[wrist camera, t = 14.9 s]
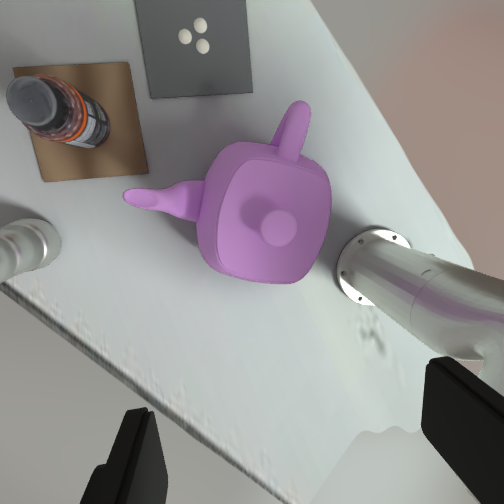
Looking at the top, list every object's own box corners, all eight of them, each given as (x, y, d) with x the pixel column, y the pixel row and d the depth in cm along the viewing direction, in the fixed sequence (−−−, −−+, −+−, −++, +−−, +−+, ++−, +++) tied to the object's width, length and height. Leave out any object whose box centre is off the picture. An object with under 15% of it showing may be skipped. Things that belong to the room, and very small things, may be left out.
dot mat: (243, -28, 34) (243, -30, 33) (252, 92, 37) (252, 91, 37) (131, -26, 32) (130, -28, 32) (151, 98, 36) (151, 97, 35)
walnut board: (129, 63, 34) (127, 62, 34) (148, 173, 38) (147, 173, 37) (15, 69, 33) (12, 67, 33) (46, 182, 36) (43, 182, 36)
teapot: (332, 138, 40) (400, 115, 25) (293, 276, 44) (332, 323, 30) (170, 91, 36) (139, 30, 21) (145, 248, 40) (106, 286, 26)
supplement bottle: (50, 120, 34) (-26, 93, 24) (85, 86, 34) (24, 43, 23) (89, 159, 36) (35, 151, 25) (122, 128, 36) (82, 105, 25)
